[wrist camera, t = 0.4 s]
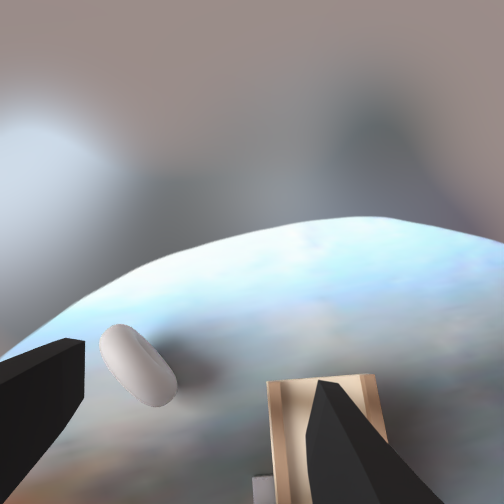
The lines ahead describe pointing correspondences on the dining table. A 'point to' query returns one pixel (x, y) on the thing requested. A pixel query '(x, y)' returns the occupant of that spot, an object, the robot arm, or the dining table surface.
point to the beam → (295, 425)
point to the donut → (137, 365)
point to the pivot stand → (264, 489)
